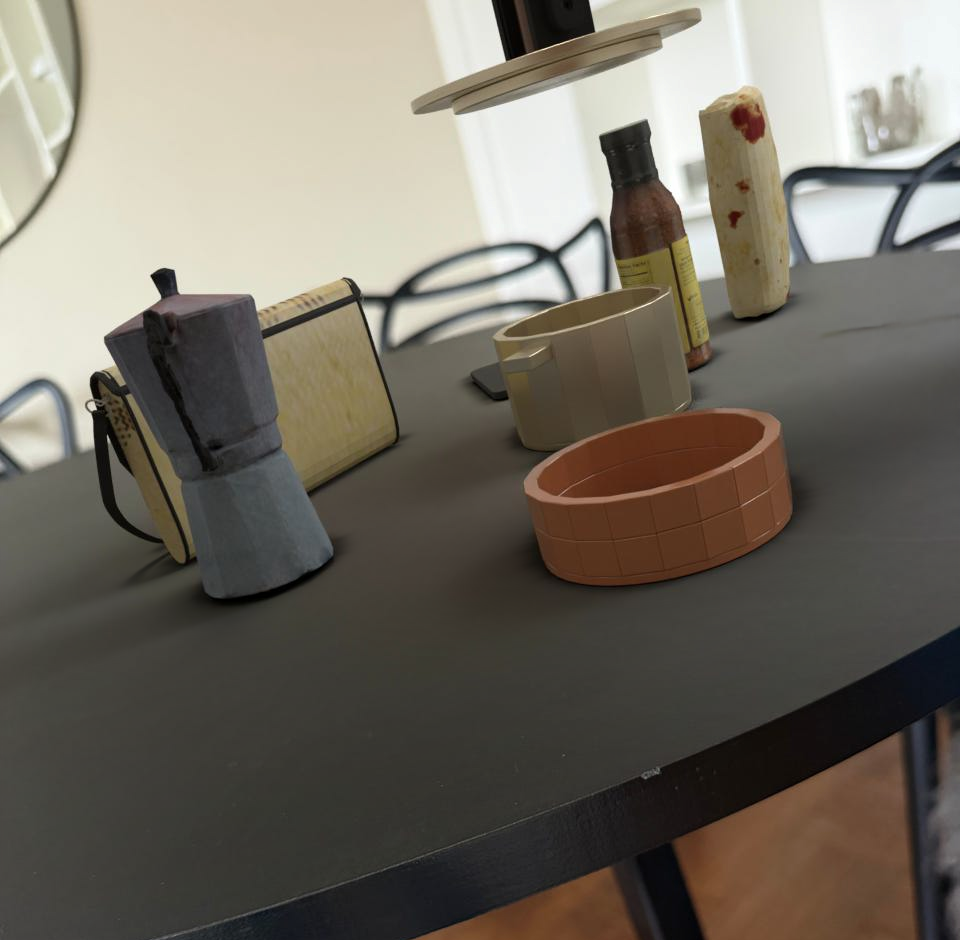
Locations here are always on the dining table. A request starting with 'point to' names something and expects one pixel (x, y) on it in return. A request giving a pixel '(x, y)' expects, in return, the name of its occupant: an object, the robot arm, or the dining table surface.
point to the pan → (661, 497)
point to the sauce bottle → (652, 233)
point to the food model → (747, 201)
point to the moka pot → (221, 437)
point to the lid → (555, 63)
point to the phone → (491, 380)
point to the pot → (594, 365)
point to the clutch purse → (300, 398)
